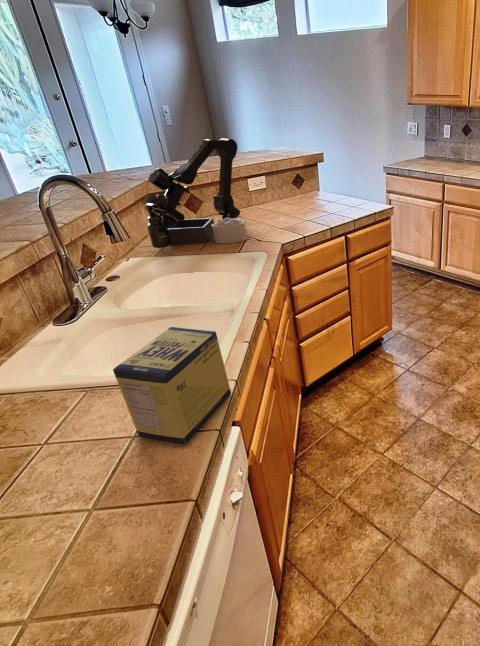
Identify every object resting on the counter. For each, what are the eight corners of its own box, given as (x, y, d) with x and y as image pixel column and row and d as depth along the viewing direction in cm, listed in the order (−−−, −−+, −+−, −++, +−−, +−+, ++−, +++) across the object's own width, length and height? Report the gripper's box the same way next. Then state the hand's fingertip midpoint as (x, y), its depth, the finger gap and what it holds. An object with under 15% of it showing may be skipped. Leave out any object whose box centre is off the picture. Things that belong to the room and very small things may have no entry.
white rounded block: (248, 240, 183) (244, 220, 179) (216, 245, 179) (211, 224, 175) (245, 233, 192) (241, 214, 188) (214, 238, 187) (209, 218, 183)
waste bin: (216, 232, 195) (213, 217, 192) (207, 242, 182) (204, 227, 179) (180, 233, 193) (176, 219, 190) (169, 244, 181) (165, 229, 178)
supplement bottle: (166, 248, 171) (157, 219, 165) (149, 248, 171) (140, 219, 165) (174, 242, 177) (166, 214, 171) (158, 243, 177) (150, 214, 172)
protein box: (232, 392, 92) (217, 330, 85) (186, 445, 78) (163, 376, 71) (189, 386, 94) (170, 325, 87) (137, 437, 80) (109, 369, 73)
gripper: (141, 183, 170) (122, 217, 168) (168, 187, 161) (149, 224, 159) (165, 198, 180) (148, 231, 177) (192, 204, 171) (174, 238, 168)
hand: (154, 230), depth 170 cm, fingers closed on supplement bottle, 7 cm apart
